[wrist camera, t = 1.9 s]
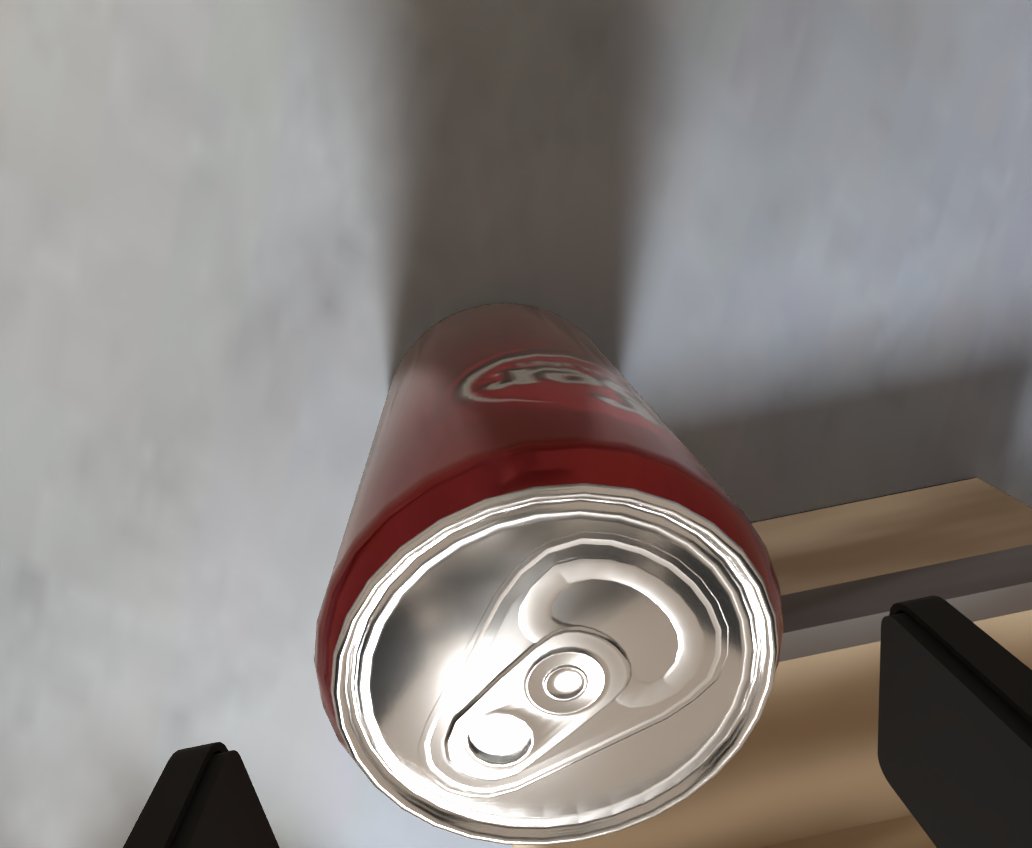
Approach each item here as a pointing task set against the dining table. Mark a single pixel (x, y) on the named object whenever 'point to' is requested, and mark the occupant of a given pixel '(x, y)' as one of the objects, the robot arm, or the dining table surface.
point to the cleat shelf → (850, 667)
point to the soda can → (540, 594)
